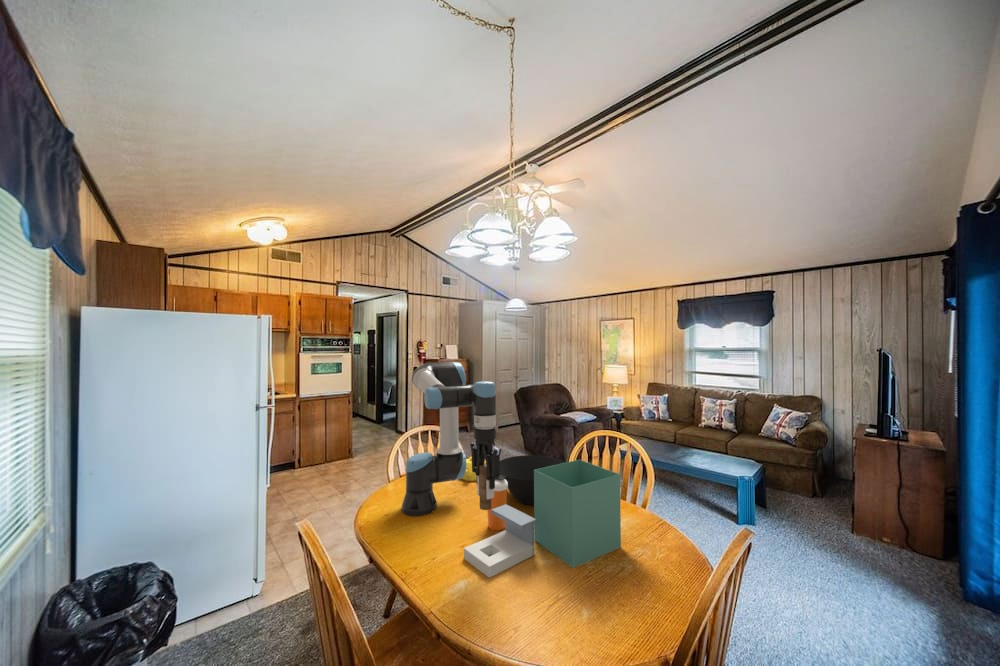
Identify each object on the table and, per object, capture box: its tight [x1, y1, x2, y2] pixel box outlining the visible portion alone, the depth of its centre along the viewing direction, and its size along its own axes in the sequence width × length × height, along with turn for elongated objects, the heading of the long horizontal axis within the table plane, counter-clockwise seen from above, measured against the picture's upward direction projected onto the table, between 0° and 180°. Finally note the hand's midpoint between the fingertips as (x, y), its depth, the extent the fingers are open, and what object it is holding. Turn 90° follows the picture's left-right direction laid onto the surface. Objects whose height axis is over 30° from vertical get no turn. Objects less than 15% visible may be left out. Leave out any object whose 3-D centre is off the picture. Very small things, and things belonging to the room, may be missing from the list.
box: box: [533, 459, 622, 569], centre depth 138 cm, size 23×21×26 cm
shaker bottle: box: [487, 475, 508, 531], centre depth 151 cm, size 9×9×20 cm
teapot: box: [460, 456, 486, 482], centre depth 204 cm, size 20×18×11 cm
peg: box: [479, 464, 491, 511], centre depth 128 cm, size 4×4×14 cm
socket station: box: [463, 503, 536, 579], centre depth 130 cm, size 16×20×12 cm
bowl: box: [500, 454, 566, 505], centre depth 178 cm, size 36×36×15 cm
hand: (485, 496), depth 128 cm, fingers closed on peg, 4 cm apart
